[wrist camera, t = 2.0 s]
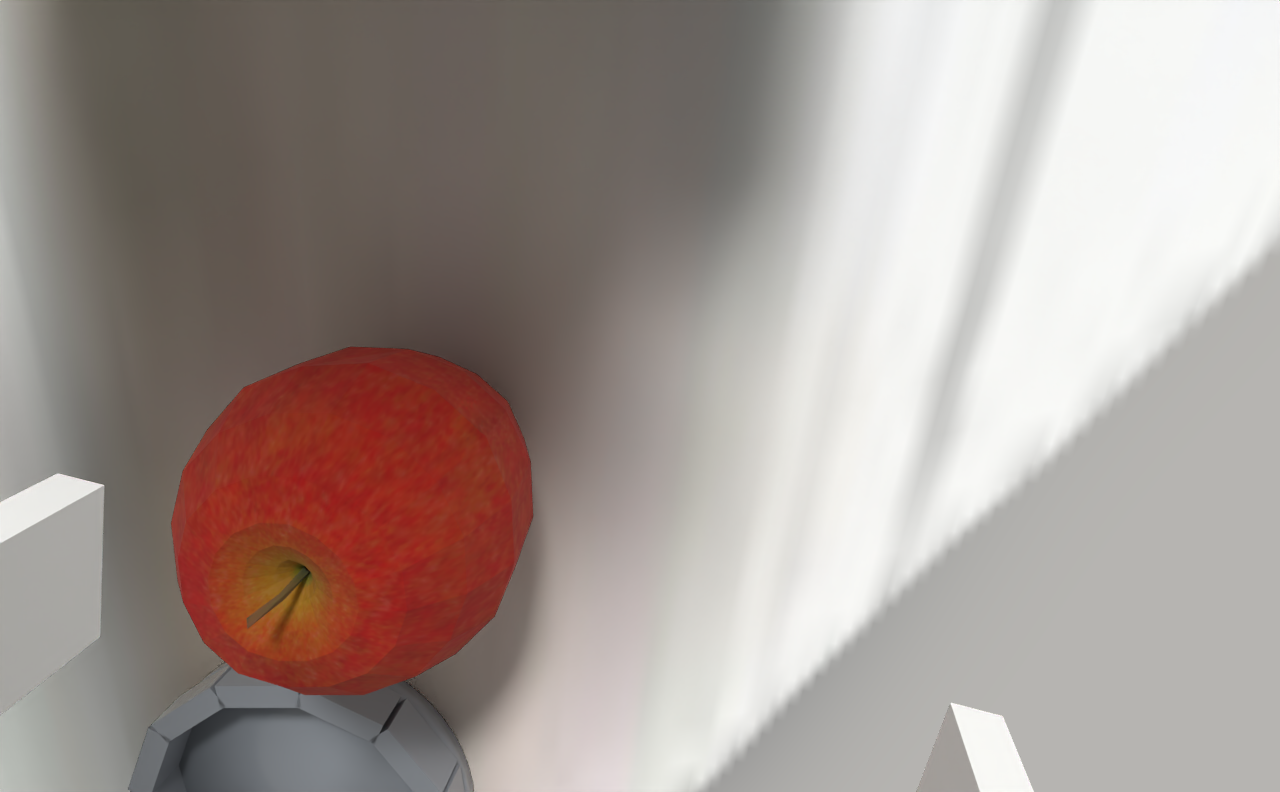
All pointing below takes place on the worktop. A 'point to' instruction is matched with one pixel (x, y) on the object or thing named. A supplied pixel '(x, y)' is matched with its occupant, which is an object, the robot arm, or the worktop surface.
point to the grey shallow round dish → (298, 741)
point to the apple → (352, 520)
